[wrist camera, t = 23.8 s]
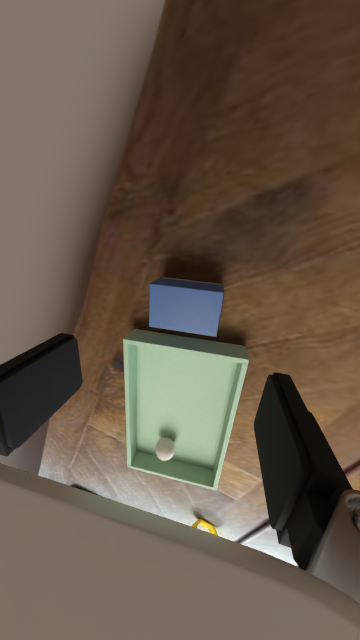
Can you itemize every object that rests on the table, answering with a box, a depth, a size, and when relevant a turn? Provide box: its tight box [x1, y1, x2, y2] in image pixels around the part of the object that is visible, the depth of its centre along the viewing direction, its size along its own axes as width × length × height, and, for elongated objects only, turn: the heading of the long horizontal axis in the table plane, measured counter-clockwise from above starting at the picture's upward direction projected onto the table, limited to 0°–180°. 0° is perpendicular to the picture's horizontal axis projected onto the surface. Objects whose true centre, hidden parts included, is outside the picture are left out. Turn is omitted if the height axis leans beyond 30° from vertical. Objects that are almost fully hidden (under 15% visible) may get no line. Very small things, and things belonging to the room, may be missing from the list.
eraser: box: [149, 277, 224, 337], centre depth 20 cm, size 4×7×5 cm, turn 85°
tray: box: [123, 329, 249, 490], centre depth 27 cm, size 23×14×3 cm, turn 175°
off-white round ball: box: [155, 437, 175, 461], centre depth 29 cm, size 3×3×3 cm
